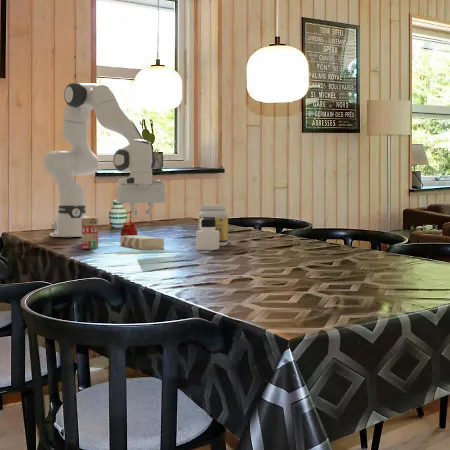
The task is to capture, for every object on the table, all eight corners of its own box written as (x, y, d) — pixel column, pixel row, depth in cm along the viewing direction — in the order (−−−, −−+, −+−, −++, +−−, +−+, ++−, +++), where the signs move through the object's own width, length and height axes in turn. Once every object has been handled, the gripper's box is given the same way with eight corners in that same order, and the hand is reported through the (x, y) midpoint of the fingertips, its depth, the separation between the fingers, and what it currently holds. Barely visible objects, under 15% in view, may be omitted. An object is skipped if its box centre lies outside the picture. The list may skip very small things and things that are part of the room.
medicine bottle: (219, 249, 254) (219, 218, 253) (213, 250, 247) (213, 218, 246) (202, 248, 256) (202, 217, 255) (195, 249, 249) (195, 218, 249)
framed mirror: (120, 245, 270) (120, 235, 270) (140, 244, 275) (140, 235, 274) (142, 249, 250) (142, 239, 250) (163, 248, 255) (163, 238, 255)
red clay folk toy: (117, 243, 282) (117, 208, 282) (125, 242, 289) (125, 208, 288) (132, 243, 280) (132, 208, 279) (141, 242, 286) (140, 208, 285)
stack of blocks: (83, 244, 276) (82, 215, 275) (98, 244, 277) (98, 215, 276) (81, 249, 254) (81, 217, 254) (97, 248, 256) (97, 217, 255)
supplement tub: (201, 247, 261) (201, 205, 261) (196, 245, 273) (196, 204, 273) (230, 246, 264) (230, 205, 263) (224, 244, 276) (224, 204, 275)
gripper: (161, 180, 269) (161, 213, 270) (114, 179, 259) (114, 214, 259) (168, 180, 264) (168, 214, 264) (120, 179, 253) (120, 215, 254)
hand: (141, 214), depth 262 cm, fingers open, 4 cm apart
